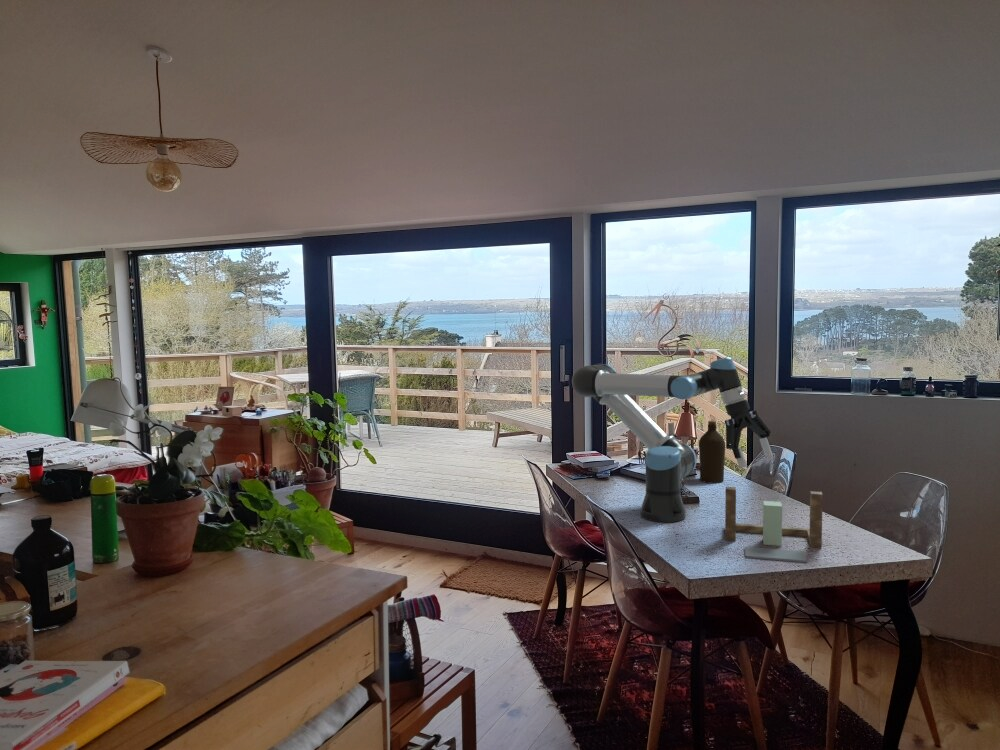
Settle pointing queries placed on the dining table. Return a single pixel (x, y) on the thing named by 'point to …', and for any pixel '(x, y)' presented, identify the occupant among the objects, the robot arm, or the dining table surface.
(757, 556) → the mat
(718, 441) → the olive oil
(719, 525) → the dining table surface
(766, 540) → the tall green square pillar
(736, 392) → the robot arm
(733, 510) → the frame
